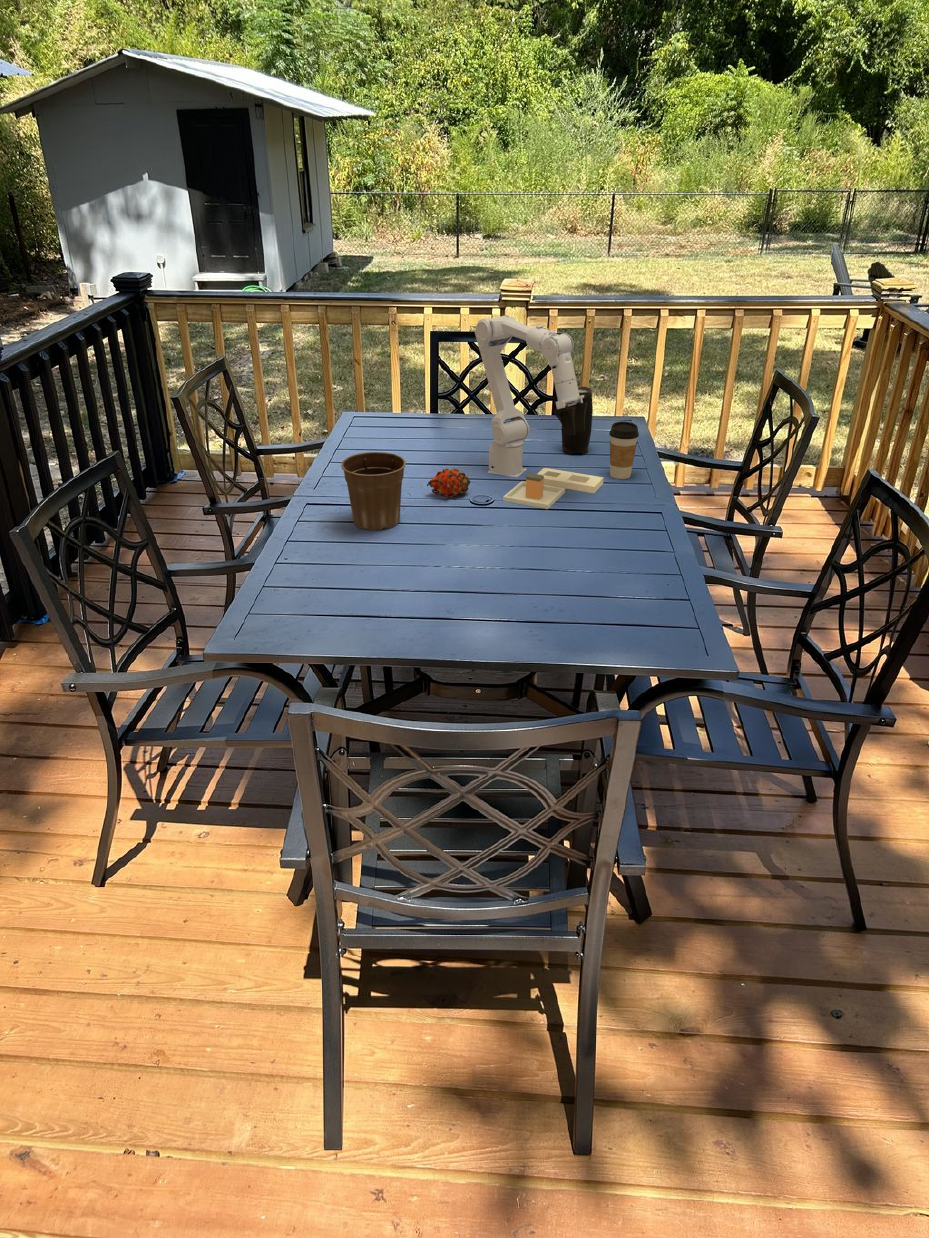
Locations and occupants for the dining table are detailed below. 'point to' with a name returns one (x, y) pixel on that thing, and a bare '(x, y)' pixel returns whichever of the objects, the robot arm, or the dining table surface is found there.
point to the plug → (534, 486)
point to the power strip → (571, 480)
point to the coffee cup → (622, 449)
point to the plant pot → (374, 488)
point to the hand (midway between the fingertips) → (576, 433)
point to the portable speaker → (580, 439)
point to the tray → (545, 502)
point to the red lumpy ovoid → (449, 483)
